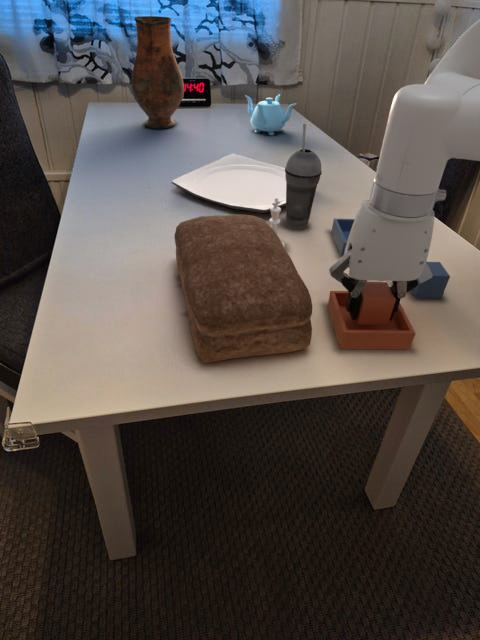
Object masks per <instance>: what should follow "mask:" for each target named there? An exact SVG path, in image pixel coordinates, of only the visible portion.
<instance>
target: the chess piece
mask: <svg viewBox="0 0 480 640" xmlns="http://www.w3.org/2000/svg"><path fill="white" fill-rule="evenodd" d="M278 204H280V201H279V200H278V198H275V202H273V203H272V205H273V207H271V208H270V211H269V212H270V215H271V217H270V218H269V220H268V223H270V224H271V225H270V227H271V228H272V229H273V230H274V232H275V233H276V234H277V235H278V225H279V224H280V223H281V220H280V218H279V216H280V213H281V212H282V207H278ZM281 242H282V244H283V246H284V248H285V249H286V246H285V245H286V244H285V242H284V241H282V240H281Z"/></svg>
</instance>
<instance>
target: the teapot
mask: <svg viewBox="0 0 480 640" xmlns="http://www.w3.org/2000/svg"><path fill="white" fill-rule="evenodd" d="M244 96H245V98H246V100H247V114H248V116H249V118H250V124H251V126H252V128H254V129H255V130H254V133H262V132H267V133H268V135H269V136H274V135H275V132H281V130H282V129H283V128H284V127H285V126H286V123H287V122H289V121H290V118H291V115H292V111H293V108H294V107H295V106H296V105H297V103H291V104H289V105H288V107H287V110H286V113H285V111H284V109H283V106H282V105H281V103H280V97H281V94H280V93H277V94H276V96H275V98H273V97H266V98H265V100H261V101H259V102H258V103H257V104H256V106H255V107H254V106H253V100H252V98H251V96H249V95H248V94H247V95H246V94H245V95H244Z"/></svg>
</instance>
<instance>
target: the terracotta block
mask: <svg viewBox="0 0 480 640" xmlns="http://www.w3.org/2000/svg"><path fill="white" fill-rule="evenodd" d="M389 287H390V285H389V283H388V281H367V282H366V284H365V286H364V288H363V290H362V291H361V294H360V295H361V297H362V302H361V306H360V309H359V313H358V317H357V319H356V321H357V324H375V325H388V323H389V320H390V317H391V313H392V310H393V307H394V304H395V301H396V299H395V297H394V295H393V293H392V292H391V290H390V288H389Z"/></svg>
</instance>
